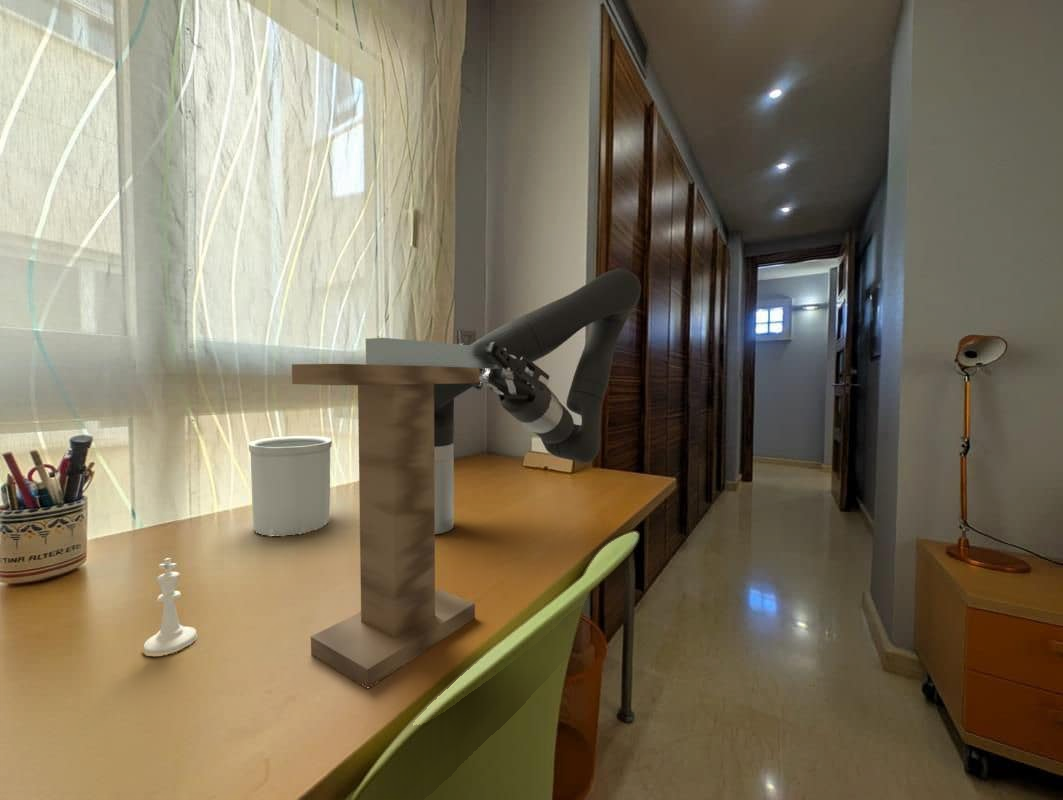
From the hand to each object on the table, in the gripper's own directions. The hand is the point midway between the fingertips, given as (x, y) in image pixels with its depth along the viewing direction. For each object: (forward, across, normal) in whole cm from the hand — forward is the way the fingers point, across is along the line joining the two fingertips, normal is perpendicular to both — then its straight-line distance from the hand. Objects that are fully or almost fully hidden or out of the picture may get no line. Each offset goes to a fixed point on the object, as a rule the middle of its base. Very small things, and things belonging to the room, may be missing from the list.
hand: (475, 348), depth 64 cm
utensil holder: (-18, -49, +30) cm, 60 cm away
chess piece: (+8, -20, +45) cm, 50 cm away
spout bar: (+4, 0, +5) cm, 6 cm away
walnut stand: (-5, 0, +37) cm, 37 cm away
